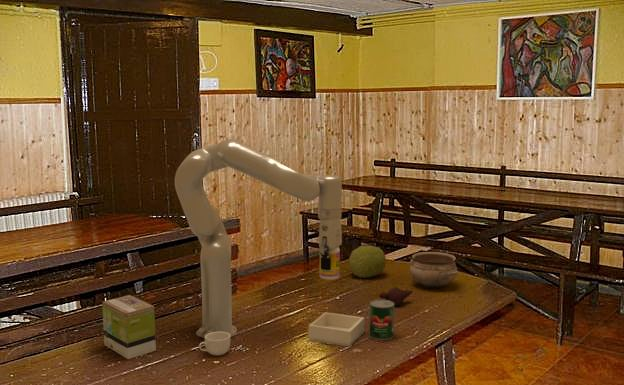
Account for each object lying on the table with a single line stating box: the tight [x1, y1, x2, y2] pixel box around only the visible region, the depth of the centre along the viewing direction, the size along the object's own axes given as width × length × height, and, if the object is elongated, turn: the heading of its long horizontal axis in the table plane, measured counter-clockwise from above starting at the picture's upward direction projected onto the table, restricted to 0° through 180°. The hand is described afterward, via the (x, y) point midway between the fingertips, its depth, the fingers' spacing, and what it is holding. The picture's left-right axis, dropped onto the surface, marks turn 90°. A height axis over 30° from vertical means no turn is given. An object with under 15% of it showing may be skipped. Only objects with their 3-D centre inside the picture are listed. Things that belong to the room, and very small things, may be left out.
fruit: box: [348, 245, 387, 279], centre depth 285 cm, size 16×14×15 cm
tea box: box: [101, 294, 157, 360], centre depth 204 cm, size 15×10×15 cm, turn 45°
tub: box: [308, 311, 366, 348], centre depth 215 cm, size 14×14×5 cm
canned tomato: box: [368, 299, 395, 341], centre depth 216 cm, size 8×8×11 cm
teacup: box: [198, 331, 231, 356], centre depth 201 cm, size 10×8×5 cm
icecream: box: [378, 286, 413, 306], centre depth 247 cm, size 7×8×15 cm
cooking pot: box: [409, 251, 459, 289], centre depth 271 cm, size 25×19×12 cm
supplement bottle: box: [319, 246, 341, 281], centre depth 218 cm, size 7×7×13 cm
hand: (329, 266), depth 219 cm, fingers closed on supplement bottle, 6 cm apart
